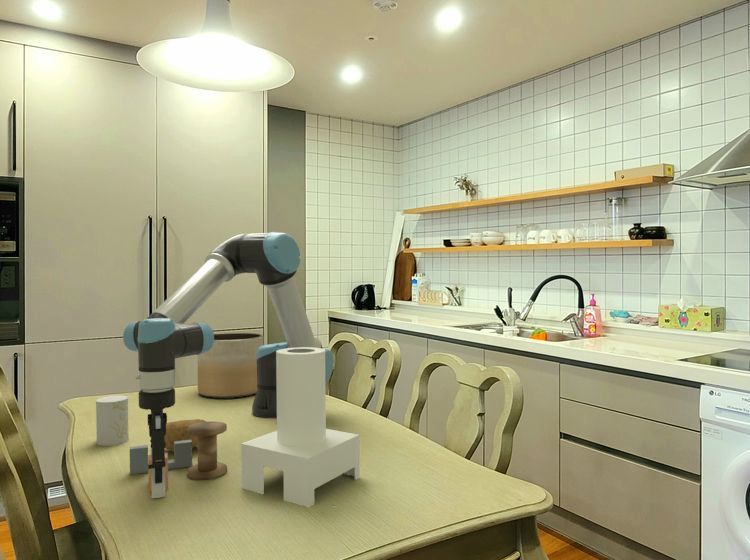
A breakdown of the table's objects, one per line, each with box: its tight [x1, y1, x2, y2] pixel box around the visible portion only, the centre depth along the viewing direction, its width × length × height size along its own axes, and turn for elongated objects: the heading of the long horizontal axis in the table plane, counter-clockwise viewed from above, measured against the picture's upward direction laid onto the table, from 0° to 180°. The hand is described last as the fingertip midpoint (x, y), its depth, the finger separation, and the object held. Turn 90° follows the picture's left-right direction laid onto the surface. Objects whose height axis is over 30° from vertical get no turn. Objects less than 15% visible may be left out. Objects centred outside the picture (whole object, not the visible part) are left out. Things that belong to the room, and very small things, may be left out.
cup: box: [95, 395, 130, 447], centre depth 157 cm, size 8×8×12 cm
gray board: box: [129, 440, 193, 476], centre depth 135 cm, size 14×2×6 cm, turn 113°
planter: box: [197, 332, 264, 399], centre depth 218 cm, size 25×25×22 cm
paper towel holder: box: [240, 347, 361, 508], centre depth 125 cm, size 19×19×30 cm
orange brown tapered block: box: [147, 452, 169, 493], centre depth 123 cm, size 4×4×7 cm
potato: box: [164, 418, 207, 452], centre depth 149 cm, size 10×14×8 cm
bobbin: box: [187, 420, 228, 481], centre depth 132 cm, size 9×9×11 cm
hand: (157, 486), depth 123 cm, fingers open, 11 cm apart
